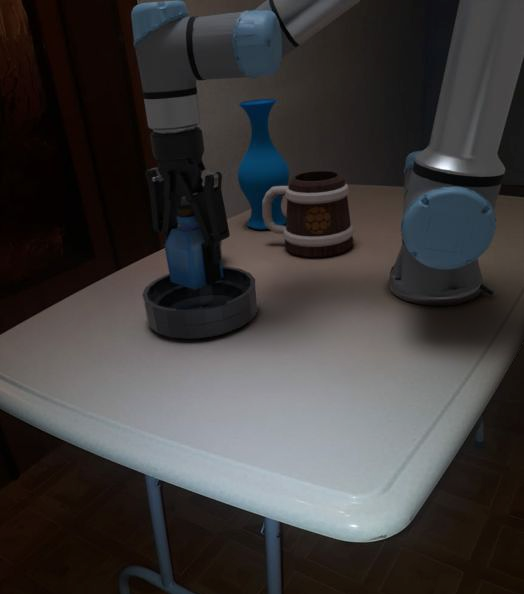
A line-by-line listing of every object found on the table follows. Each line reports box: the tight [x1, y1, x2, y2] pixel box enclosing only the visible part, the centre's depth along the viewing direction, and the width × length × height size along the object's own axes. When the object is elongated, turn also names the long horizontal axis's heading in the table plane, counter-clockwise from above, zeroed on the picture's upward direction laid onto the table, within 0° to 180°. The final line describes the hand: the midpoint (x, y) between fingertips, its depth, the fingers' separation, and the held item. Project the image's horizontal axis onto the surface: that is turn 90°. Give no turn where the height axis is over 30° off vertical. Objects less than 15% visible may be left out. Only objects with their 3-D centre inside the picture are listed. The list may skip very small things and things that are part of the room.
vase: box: [237, 98, 290, 230], centre depth 131 cm, size 12×13×28 cm
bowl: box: [141, 265, 259, 340], centre depth 93 cm, size 19×19×6 cm
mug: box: [262, 170, 355, 258], centre depth 117 cm, size 20×15×15 cm
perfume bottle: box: [164, 204, 224, 290], centre depth 88 cm, size 6×6×12 cm
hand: (197, 277), depth 91 cm, fingers closed on perfume bottle, 7 cm apart
